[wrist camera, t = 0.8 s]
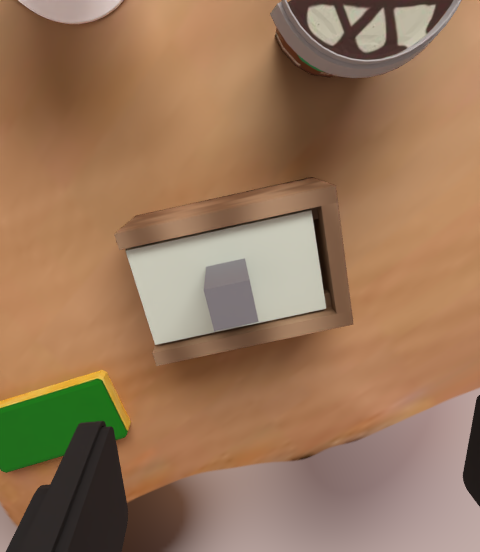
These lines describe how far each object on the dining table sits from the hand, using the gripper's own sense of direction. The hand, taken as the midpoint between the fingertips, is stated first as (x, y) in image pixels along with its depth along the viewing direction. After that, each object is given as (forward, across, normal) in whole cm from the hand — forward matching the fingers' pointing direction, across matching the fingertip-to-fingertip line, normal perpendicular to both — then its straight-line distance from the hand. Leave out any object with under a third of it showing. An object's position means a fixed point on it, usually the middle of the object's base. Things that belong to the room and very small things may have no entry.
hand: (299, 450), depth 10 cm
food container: (+27, -10, -14) cm, 32 cm away
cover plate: (+21, +1, +3) cm, 21 cm away
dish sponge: (+28, +19, +19) cm, 39 cm away
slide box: (+27, 0, +2) cm, 27 cm away
